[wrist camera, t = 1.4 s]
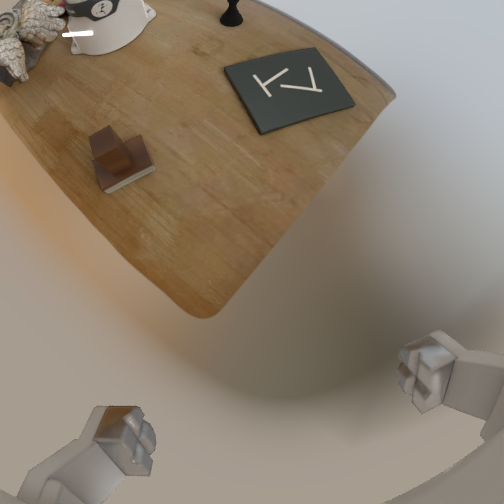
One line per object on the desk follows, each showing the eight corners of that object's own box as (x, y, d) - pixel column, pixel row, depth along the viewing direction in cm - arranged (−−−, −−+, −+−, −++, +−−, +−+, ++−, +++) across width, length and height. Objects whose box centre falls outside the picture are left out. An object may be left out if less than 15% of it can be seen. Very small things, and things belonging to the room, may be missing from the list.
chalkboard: (223, 70, 39) (223, 67, 38) (313, 50, 41) (315, 46, 40) (260, 135, 39) (261, 132, 38) (353, 107, 41) (356, 104, 40)
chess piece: (247, 21, 40) (253, -15, 30) (230, 29, 40) (234, -8, 30) (232, 12, 40) (235, -24, 30) (215, 20, 39) (216, -17, 30)
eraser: (99, 166, 37) (70, 142, 27) (145, 142, 37) (126, 110, 28) (108, 194, 37) (78, 175, 27) (156, 169, 38) (137, 142, 28)
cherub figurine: (20, -7, 19) (34, -35, 11) (65, 30, 35) (91, 15, 28) (-35, 60, 19) (-43, 50, 11) (15, 93, 35) (24, 94, 28)
